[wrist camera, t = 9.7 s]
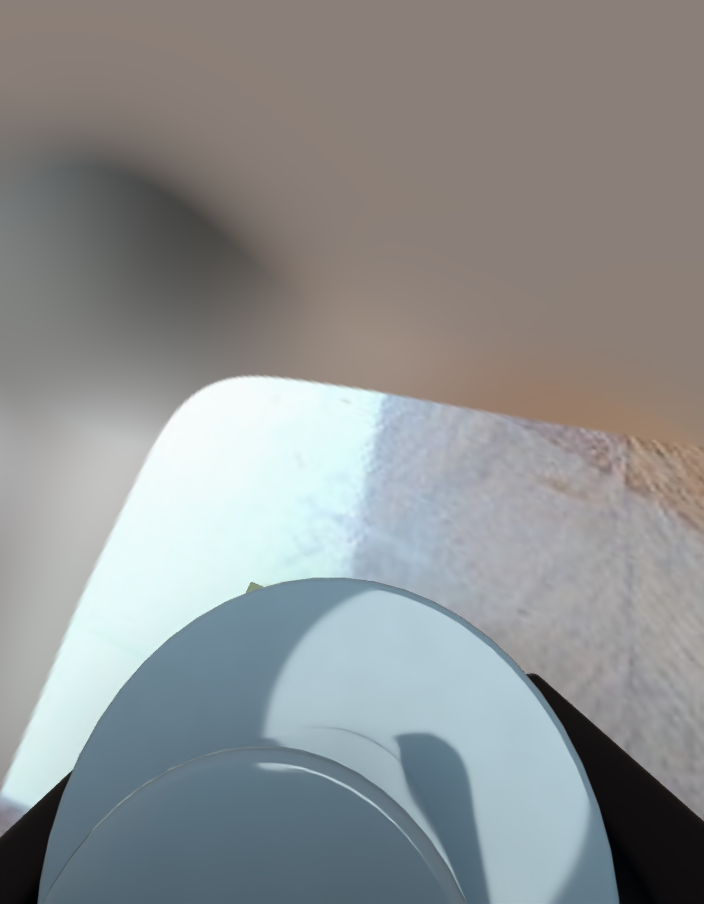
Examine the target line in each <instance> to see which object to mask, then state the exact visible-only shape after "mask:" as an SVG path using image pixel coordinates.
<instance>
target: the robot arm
mask: <svg viewBox="0 0 704 904" xmlns="http://www.w3.org/2000/svg"><path fill="white" fill-rule="evenodd" d="M526 675H527V676H528V677H529V678H530V680H531V681H532V682H533V683H534V684H535V686H536V687H537V688H538V689H539V690H540V692H541V693H542V694H543V696H544V697H545V699H546V700H547V702H548V703H549V705H550V706H551V708H552V709H553V711H554V712H555V714H556V715H557V717H558V718H559V720H560V721H561V723H562V724H563V726H564V728H565V730H566V732H567V734H568V736H569V738H570V740H571V742H572V743H573V745H574V747H575V749H576V751H577V753H578V755H579V757H580V759H581V761H582V763H583V765H584V768H585V770H586V773H587V775H588V778H589V781H590V783H591V786H592V788H593V791H594V793H595V796H596V798H597V801H598V804H599V807H600V810H601V814H602V818H603V821H604V825H605V829H606V832H607V836H608V840H609V843H610V847H611V851H612V857H613V863H614V869H615V876H616V882H617V888H618V894H619V904H704V821H703V820H702V819H701V818H699V817H698V816H697V815H696V814H695V813H694V812H693V811H691V810H690V809H689V808H688V807H687V806H686V805H685V804H684V803H682V802H681V801H680V800H679V799H678V798H677V797H676V796H675V795H673V794H672V793H671V792H670V791H669V790H668V789H667V788H665V787H664V786H663V785H662V784H661V783H660V782H659V781H658V780H656V779H655V778H654V777H653V776H652V775H651V774H650V773H648V772H647V771H646V770H645V769H644V768H643V767H642V766H641V765H639V764H638V763H637V762H636V761H635V760H634V759H633V758H631V757H630V756H629V755H628V754H627V753H626V752H625V751H624V750H622V749H621V748H620V747H619V746H618V745H617V744H616V743H615V742H613V741H612V740H611V739H610V738H609V737H608V736H607V735H605V734H604V733H603V732H602V731H601V730H600V729H599V728H598V727H596V726H595V725H594V724H593V723H592V722H591V721H590V720H588V719H587V718H586V717H585V716H584V715H583V714H582V713H581V712H579V711H578V710H577V709H576V708H575V707H574V706H573V705H572V704H570V703H569V702H568V701H567V700H566V699H565V698H564V697H562V696H561V695H560V694H559V693H558V692H557V691H556V690H555V689H553V688H552V687H551V686H550V685H549V684H548V683H547V682H545V681H544V680H543V679H542V678H541V677H540V676H538V675H537V674H533V673H531V674H526ZM72 771H73V770H72ZM72 771H71V772H70V773H69V774H68V775H67V776H66V777H65V778H64V779H62V780H61V781H60V782H59V783H58V784H57V785H56V786H55V787H54V788H53V789H52V790H51V791H50V792H49V793H47V794H46V795H45V796H44V797H43V798H42V799H41V800H40V801H39V802H38V803H37V804H36V805H35V806H34V807H32V808H31V809H30V810H29V811H28V812H27V813H26V814H25V815H24V816H23V817H22V818H21V819H20V820H19V821H17V822H16V823H15V824H14V825H13V826H12V827H11V828H10V829H9V830H8V831H7V832H6V833H5V834H4V835H2V836H1V837H0V904H38V895H39V886H40V879H41V874H42V869H43V864H44V860H45V855H46V850H47V845H48V840H49V836H50V833H51V830H52V826H53V823H54V820H55V817H56V814H57V811H58V807H59V804H60V801H61V798H62V795H63V792H64V790H65V788H66V785H67V783H68V781H69V778H70V776H71V774H72Z"/></svg>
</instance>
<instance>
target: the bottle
mask: <svg viewBox="0 0 704 904" xmlns="http://www.w3.org/2000/svg"><path fill="white" fill-rule="evenodd" d="M38 904H619V894H618V888H617V882H616V876H615V869H614V863H613V857H612V851H611V847H610V843H609V840H608V836H607V832H606V829H605V825H604V821H603V818H602V814H601V810H600V807H599V804H598V801H597V798H596V796H595V793H594V791H593V788H592V786H591V783H590V781H589V778H588V775H587V773H586V770H585V768H584V765H583V763H582V761H581V759H580V757H579V755H578V753H577V751H576V749H575V747H574V745H573V743H572V742H571V740H570V738H569V736H568V734H567V732H566V730H565V728H564V726H563V724H562V723H561V721H560V720H559V718H558V717H557V715H556V714H555V712H554V711H553V709H552V708H551V706H550V705H549V703H548V702H547V700H546V699H545V697H544V696H543V694H542V693H541V692H540V690H539V689H538V688H537V687H536V686H535V684H534V683H533V682H532V681H531V680H530V678H529V677H528V676H527V675H526V674H525V673H524V671H523V670H522V669H521V668H520V667H519V665H518V664H517V663H516V662H515V661H514V660H513V659H512V658H511V657H510V656H509V655H507V654H506V653H505V652H504V651H503V650H502V649H501V648H500V647H499V646H498V645H497V644H496V643H495V642H494V641H493V640H492V639H491V638H489V637H488V636H487V635H485V634H484V633H483V632H481V631H480V630H478V629H477V628H476V627H474V626H473V625H472V624H470V623H469V622H468V621H466V620H465V619H464V618H462V617H460V616H459V615H457V614H455V613H453V612H452V611H450V610H448V609H446V608H444V607H443V606H441V605H439V604H437V603H436V602H434V601H431V600H429V599H427V598H424V597H422V596H419V595H417V594H414V593H412V592H409V591H407V590H405V589H401V588H397V587H393V586H390V585H386V584H382V583H378V582H374V581H367V580H359V579H351V578H308V579H301V580H294V581H286V582H281V583H278V584H274V585H270V586H267V587H263V588H259V589H256V590H253V591H250V592H248V593H245V594H243V595H241V596H238V597H236V598H233V599H231V600H229V601H226V602H224V603H222V604H221V605H219V606H217V607H215V608H213V609H212V610H210V611H208V612H206V613H205V614H203V615H201V616H199V617H198V618H196V619H195V620H193V621H192V622H191V623H189V624H188V625H187V626H185V627H184V628H182V629H181V630H180V631H178V632H177V633H176V634H174V635H173V636H172V637H170V638H169V639H168V640H167V641H166V642H165V643H164V644H163V645H162V646H161V647H159V648H158V649H157V650H156V651H155V652H154V653H153V654H152V655H151V656H150V657H149V658H148V659H147V660H145V661H144V663H143V664H142V665H141V666H140V667H139V668H138V669H137V671H136V672H135V673H134V674H133V675H132V676H131V678H130V679H129V680H128V681H127V682H126V683H125V685H124V686H123V687H122V688H121V689H120V691H119V692H118V693H117V695H116V696H115V698H114V699H113V701H112V702H111V704H110V705H109V706H108V708H107V709H106V711H105V712H104V714H103V715H102V717H101V718H100V719H99V721H98V723H97V724H96V726H95V728H94V730H93V732H92V733H91V735H90V737H89V739H88V741H87V743H86V744H85V746H84V748H83V750H82V752H81V753H80V755H79V757H78V760H77V762H76V764H75V767H74V769H73V771H72V774H71V776H70V778H69V781H68V783H67V785H66V788H65V790H64V792H63V795H62V798H61V801H60V804H59V807H58V811H57V814H56V817H55V820H54V823H53V826H52V830H51V833H50V836H49V840H48V845H47V850H46V855H45V860H44V864H43V869H42V874H41V879H40V886H39V895H38Z"/></svg>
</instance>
